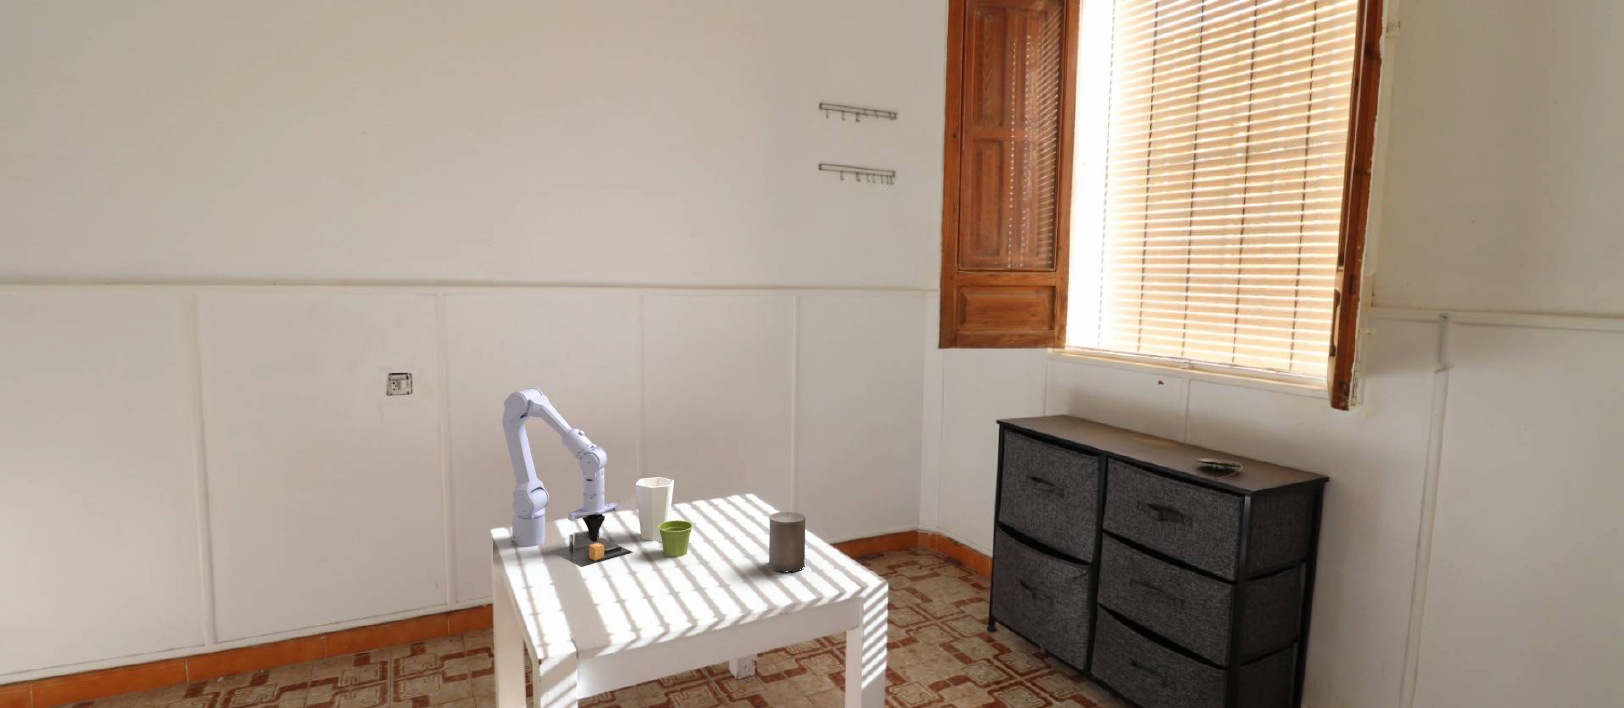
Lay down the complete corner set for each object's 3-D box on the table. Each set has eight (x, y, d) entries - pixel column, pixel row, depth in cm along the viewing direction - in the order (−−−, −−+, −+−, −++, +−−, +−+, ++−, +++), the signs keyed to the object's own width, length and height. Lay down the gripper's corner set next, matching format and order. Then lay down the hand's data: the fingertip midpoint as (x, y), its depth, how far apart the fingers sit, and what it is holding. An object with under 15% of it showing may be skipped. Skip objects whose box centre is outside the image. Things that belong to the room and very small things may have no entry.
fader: (589, 557, 211) (589, 544, 211) (598, 555, 213) (598, 542, 213) (594, 560, 209) (594, 547, 209) (604, 558, 211) (604, 544, 211)
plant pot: (685, 564, 212) (685, 532, 211) (652, 560, 214) (652, 529, 213) (697, 552, 221) (697, 522, 220) (665, 549, 223) (665, 519, 222)
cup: (680, 538, 232) (681, 481, 230) (656, 548, 223) (656, 489, 221) (652, 531, 238) (652, 475, 236) (627, 540, 229) (628, 482, 227)
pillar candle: (812, 566, 212) (813, 511, 211) (786, 575, 205) (787, 519, 204) (786, 557, 219) (787, 504, 218) (760, 566, 212) (761, 511, 211)
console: (549, 554, 216) (549, 536, 215) (601, 541, 228) (601, 524, 227) (581, 570, 205) (581, 551, 205) (633, 555, 217) (633, 537, 216)
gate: (574, 548, 218) (574, 533, 217) (573, 547, 219) (573, 532, 218) (599, 543, 222) (599, 529, 222) (597, 542, 223) (597, 528, 222)
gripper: (577, 500, 210) (577, 550, 211) (624, 490, 220) (624, 538, 222) (563, 495, 215) (564, 544, 216) (610, 485, 225) (610, 532, 226)
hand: (593, 540), depth 219 cm, fingers closed, pressing on gate
